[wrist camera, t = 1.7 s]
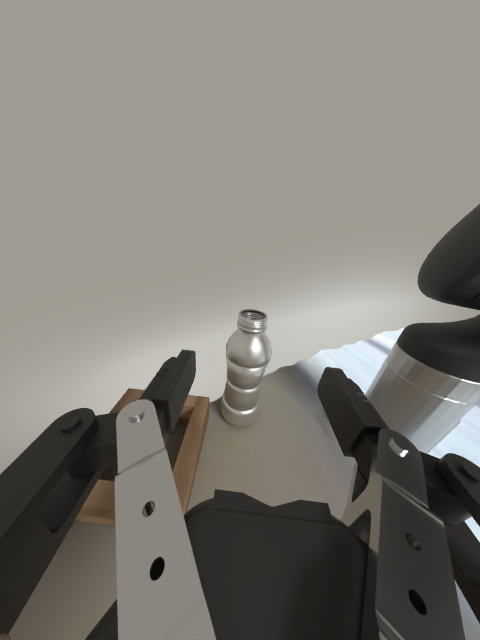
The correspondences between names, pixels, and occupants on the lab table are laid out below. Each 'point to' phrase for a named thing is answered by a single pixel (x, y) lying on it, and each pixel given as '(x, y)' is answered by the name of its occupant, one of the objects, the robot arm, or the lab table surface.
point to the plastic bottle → (245, 368)
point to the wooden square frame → (196, 416)
